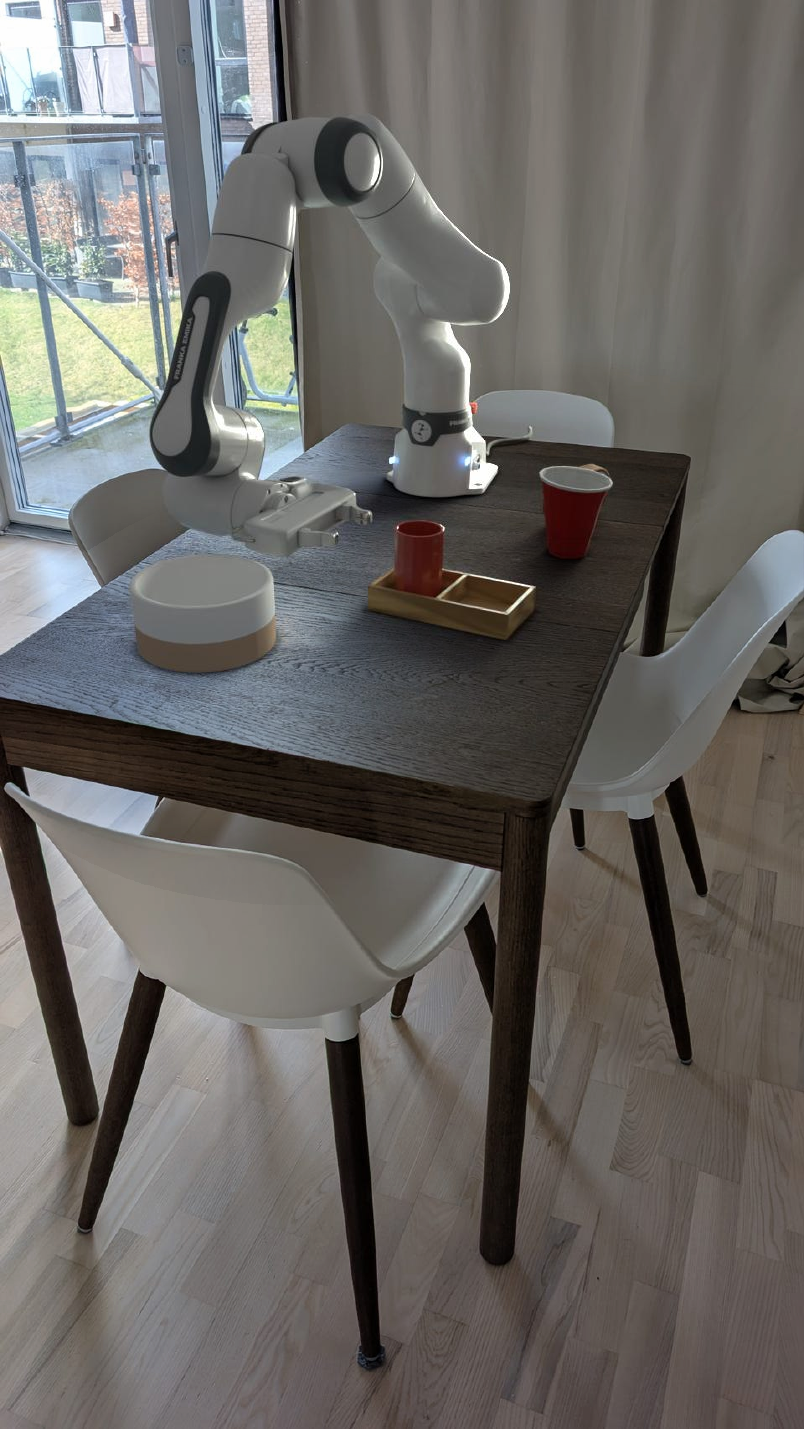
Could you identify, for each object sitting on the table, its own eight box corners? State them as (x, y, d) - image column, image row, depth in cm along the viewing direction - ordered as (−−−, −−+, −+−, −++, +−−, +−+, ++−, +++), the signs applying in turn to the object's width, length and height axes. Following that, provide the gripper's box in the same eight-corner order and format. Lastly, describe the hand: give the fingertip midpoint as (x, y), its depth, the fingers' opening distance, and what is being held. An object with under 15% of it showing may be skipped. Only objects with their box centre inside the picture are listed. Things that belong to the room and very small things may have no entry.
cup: (407, 586, 143) (408, 517, 138) (449, 595, 141) (451, 525, 136) (386, 603, 138) (386, 531, 133) (429, 612, 136) (431, 540, 131)
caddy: (402, 583, 146) (402, 560, 144) (534, 610, 138) (536, 586, 137) (367, 610, 138) (367, 585, 136) (505, 640, 130) (507, 614, 129)
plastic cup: (603, 568, 152) (612, 488, 146) (529, 562, 153) (536, 483, 147) (606, 543, 161) (614, 467, 155) (536, 537, 163) (542, 462, 157)
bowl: (155, 611, 137) (148, 551, 133) (284, 614, 136) (281, 554, 132) (120, 671, 122) (111, 606, 118) (265, 675, 121) (261, 610, 117)
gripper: (221, 513, 135) (312, 530, 130) (303, 472, 151) (387, 486, 146) (225, 558, 138) (314, 577, 133) (304, 513, 154) (387, 528, 149)
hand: (353, 529), depth 139 cm, fingers open, 8 cm apart
